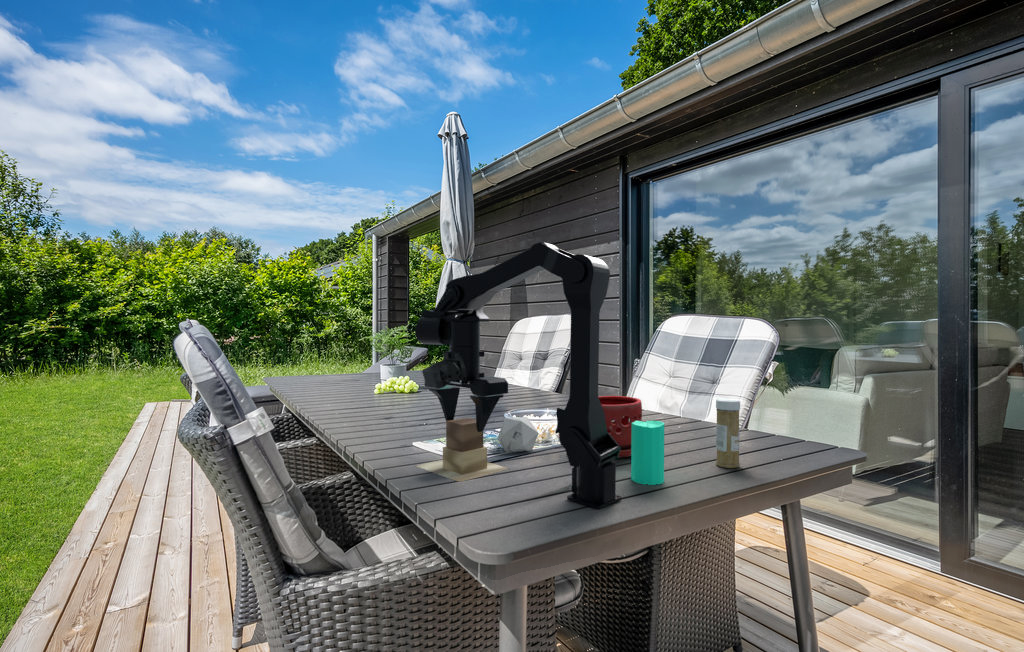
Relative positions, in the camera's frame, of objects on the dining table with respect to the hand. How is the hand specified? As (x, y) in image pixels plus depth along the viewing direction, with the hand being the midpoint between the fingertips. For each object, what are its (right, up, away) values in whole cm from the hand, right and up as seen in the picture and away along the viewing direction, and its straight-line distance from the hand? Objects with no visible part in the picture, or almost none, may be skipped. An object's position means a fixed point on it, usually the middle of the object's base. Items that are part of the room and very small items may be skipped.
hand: (464, 427), depth 101 cm
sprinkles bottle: (+53, -9, +6) cm, 54 cm away
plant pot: (+31, -9, +16) cm, 36 cm away
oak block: (0, -8, 0) cm, 8 cm away
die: (+10, -9, +15) cm, 20 cm away
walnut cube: (0, -4, 0) cm, 4 cm away
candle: (+34, -9, -3) cm, 35 cm away
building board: (-1, -9, +1) cm, 9 cm away
